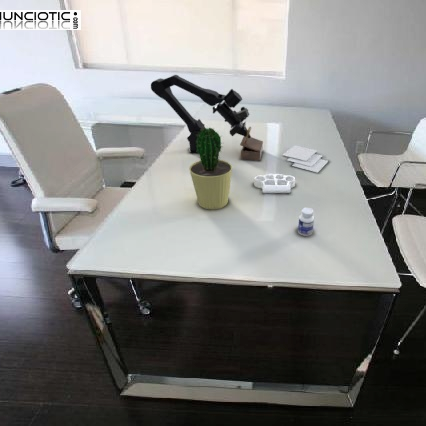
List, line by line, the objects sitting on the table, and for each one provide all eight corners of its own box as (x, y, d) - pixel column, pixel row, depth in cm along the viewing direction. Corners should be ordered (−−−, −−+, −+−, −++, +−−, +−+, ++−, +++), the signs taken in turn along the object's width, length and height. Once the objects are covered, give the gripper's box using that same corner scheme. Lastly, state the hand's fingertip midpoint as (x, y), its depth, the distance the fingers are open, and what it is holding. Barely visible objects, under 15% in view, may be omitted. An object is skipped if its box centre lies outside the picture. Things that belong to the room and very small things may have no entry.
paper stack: (333, 155, 172) (333, 154, 171) (317, 172, 152) (317, 171, 152) (294, 146, 179) (294, 145, 179) (274, 161, 160) (274, 160, 159)
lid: (239, 145, 155) (243, 131, 151) (244, 136, 166) (247, 123, 163) (259, 152, 157) (264, 139, 153) (262, 142, 168) (266, 130, 164)
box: (241, 159, 159) (240, 150, 157) (244, 149, 170) (244, 141, 168) (259, 161, 159) (260, 152, 157) (262, 150, 171) (262, 142, 168)
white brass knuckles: (255, 195, 130) (253, 178, 142) (297, 194, 133) (292, 179, 145) (255, 188, 128) (253, 172, 140) (298, 187, 131) (293, 172, 143)
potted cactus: (214, 217, 115) (208, 137, 98) (184, 203, 121) (174, 126, 105) (241, 200, 126) (240, 126, 109) (212, 188, 132) (207, 117, 116)
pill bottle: (296, 227, 113) (299, 206, 108) (311, 227, 114) (314, 206, 109) (298, 236, 109) (300, 214, 104) (313, 236, 109) (316, 215, 104)
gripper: (235, 108, 143) (259, 133, 149) (242, 98, 158) (263, 121, 164) (219, 123, 147) (243, 148, 153) (227, 112, 162) (248, 135, 169)
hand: (250, 137), depth 160 cm, fingers closed
